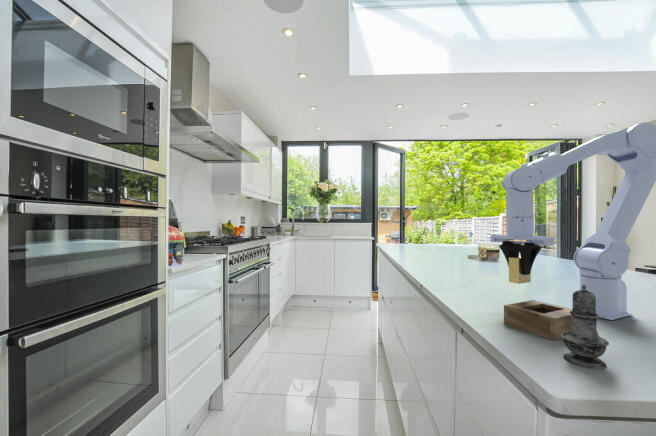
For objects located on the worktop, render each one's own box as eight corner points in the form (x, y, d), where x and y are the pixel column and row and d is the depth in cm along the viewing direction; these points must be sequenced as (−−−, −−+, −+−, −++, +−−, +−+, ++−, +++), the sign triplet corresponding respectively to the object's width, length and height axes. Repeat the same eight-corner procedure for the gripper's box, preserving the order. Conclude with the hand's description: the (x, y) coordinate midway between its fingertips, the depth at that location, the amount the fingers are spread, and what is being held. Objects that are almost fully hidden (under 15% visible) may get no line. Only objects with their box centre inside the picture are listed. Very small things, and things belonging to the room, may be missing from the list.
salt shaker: (618, 371, 46) (618, 289, 47) (573, 367, 48) (573, 287, 48) (594, 354, 52) (593, 281, 52) (553, 351, 53) (553, 280, 53)
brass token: (520, 280, 80) (520, 256, 80) (530, 282, 77) (530, 257, 77) (508, 281, 78) (508, 257, 78) (518, 283, 75) (518, 258, 76)
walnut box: (533, 317, 72) (533, 300, 72) (584, 331, 63) (584, 311, 63) (503, 324, 67) (503, 305, 67) (554, 340, 58) (554, 318, 58)
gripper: (482, 217, 82) (482, 270, 82) (540, 217, 69) (540, 279, 69) (500, 217, 86) (500, 268, 86) (559, 217, 73) (559, 277, 72)
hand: (519, 273), depth 78 cm, fingers closed on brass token, 2 cm apart
